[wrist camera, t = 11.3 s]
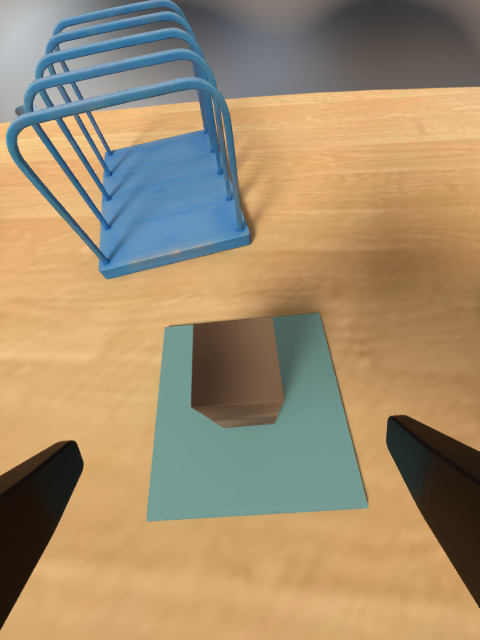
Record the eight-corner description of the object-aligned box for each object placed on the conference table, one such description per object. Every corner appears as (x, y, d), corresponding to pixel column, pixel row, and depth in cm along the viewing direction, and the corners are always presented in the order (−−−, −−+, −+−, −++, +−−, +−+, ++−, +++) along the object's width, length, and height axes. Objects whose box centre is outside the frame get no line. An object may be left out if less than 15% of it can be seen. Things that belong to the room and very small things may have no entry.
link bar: (268, 373, 21) (272, 316, 12) (274, 424, 19) (284, 398, 10) (222, 377, 21) (193, 324, 12) (223, 428, 19) (190, 406, 10)
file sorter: (111, 164, 40) (35, 20, 27) (213, 141, 41) (189, -10, 28) (106, 281, 28) (-35, 126, 15) (251, 246, 29) (242, 68, 16)
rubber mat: (366, 507, 17) (368, 508, 16) (148, 520, 17) (146, 521, 17) (318, 314, 24) (319, 312, 23) (166, 329, 24) (164, 327, 24)
